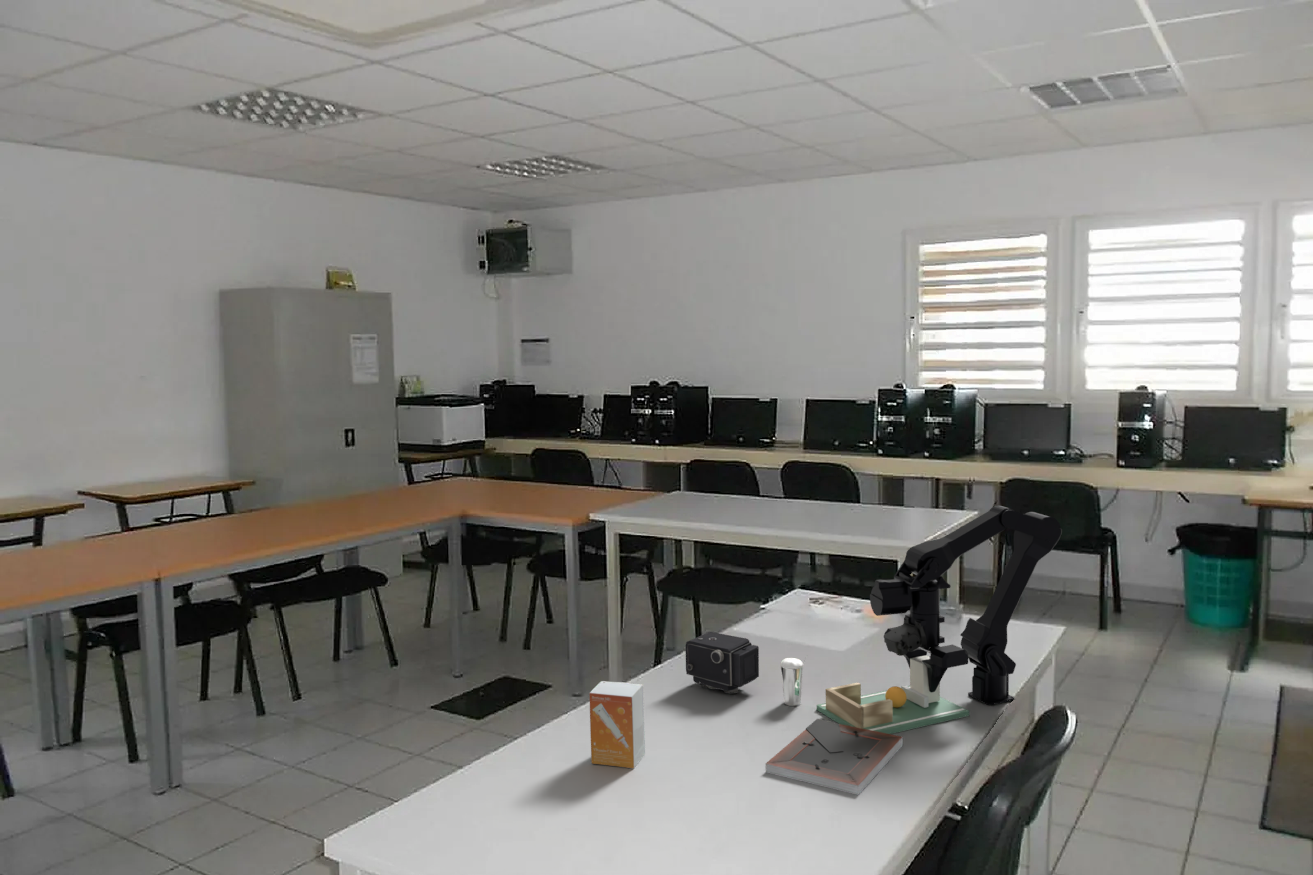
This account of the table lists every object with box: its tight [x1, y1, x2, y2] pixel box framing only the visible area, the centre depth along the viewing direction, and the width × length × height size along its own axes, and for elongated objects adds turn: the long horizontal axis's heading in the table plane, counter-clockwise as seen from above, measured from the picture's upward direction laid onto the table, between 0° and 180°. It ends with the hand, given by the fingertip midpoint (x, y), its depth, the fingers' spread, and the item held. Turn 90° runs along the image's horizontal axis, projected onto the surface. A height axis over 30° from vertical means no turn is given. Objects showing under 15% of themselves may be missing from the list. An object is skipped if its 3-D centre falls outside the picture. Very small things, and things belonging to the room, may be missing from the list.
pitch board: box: [816, 685, 970, 735], centre depth 184 cm, size 24×16×1 cm, turn 113°
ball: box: [885, 686, 907, 708], centre depth 184 cm, size 4×4×4 cm
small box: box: [588, 680, 646, 770], centre depth 166 cm, size 8×6×13 cm
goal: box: [825, 682, 893, 728], centre depth 180 cm, size 8×11×4 cm
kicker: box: [900, 654, 941, 708], centre depth 186 cm, size 5×7×8 cm
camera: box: [685, 631, 760, 694], centre depth 199 cm, size 11×11×15 cm
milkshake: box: [780, 655, 808, 707], centre depth 190 cm, size 5×5×10 cm
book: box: [765, 718, 904, 795], centre depth 164 cm, size 16×2×22 cm
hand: (924, 688), depth 187 cm, fingers closed on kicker, 4 cm apart
